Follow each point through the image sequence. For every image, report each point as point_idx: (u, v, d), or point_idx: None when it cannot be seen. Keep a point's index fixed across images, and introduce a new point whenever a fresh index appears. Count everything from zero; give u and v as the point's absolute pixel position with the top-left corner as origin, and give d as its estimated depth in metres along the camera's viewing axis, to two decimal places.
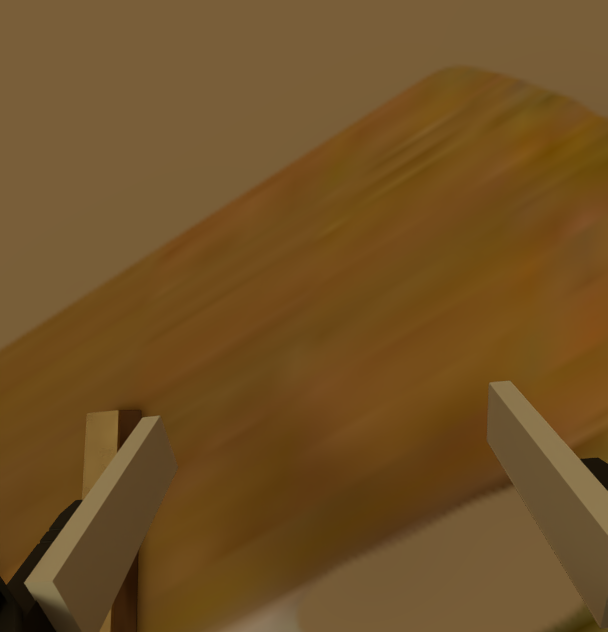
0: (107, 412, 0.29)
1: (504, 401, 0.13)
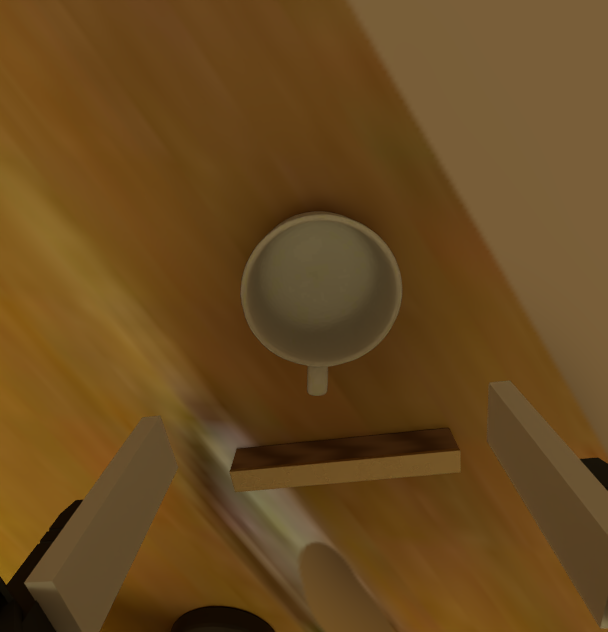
0: (459, 464, 0.35)
1: (504, 401, 0.13)
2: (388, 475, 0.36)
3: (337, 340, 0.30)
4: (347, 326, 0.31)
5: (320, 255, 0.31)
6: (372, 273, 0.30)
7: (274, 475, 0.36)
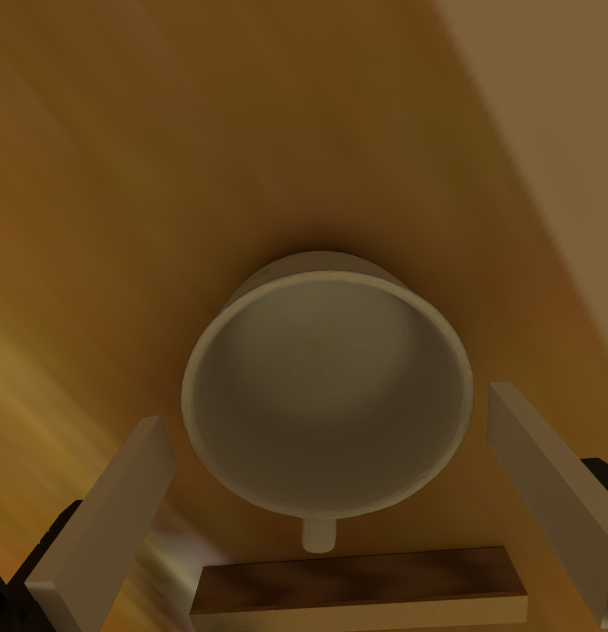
0: (525, 613, 0.24)
1: (504, 401, 0.13)
2: (420, 623, 0.25)
3: (351, 454, 0.18)
4: (365, 425, 0.20)
5: (324, 314, 0.20)
6: (405, 344, 0.19)
7: (254, 619, 0.25)
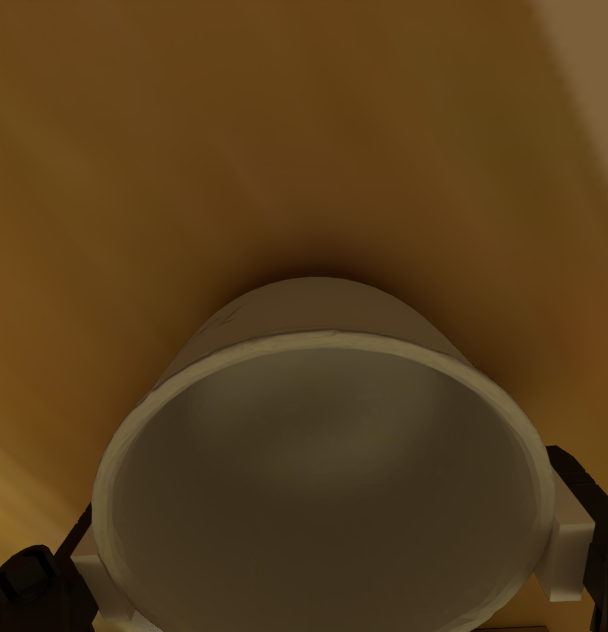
0: None
1: None
2: None
3: (358, 552, 0.13)
4: (377, 505, 0.15)
5: (321, 357, 0.15)
6: (431, 398, 0.14)
7: None
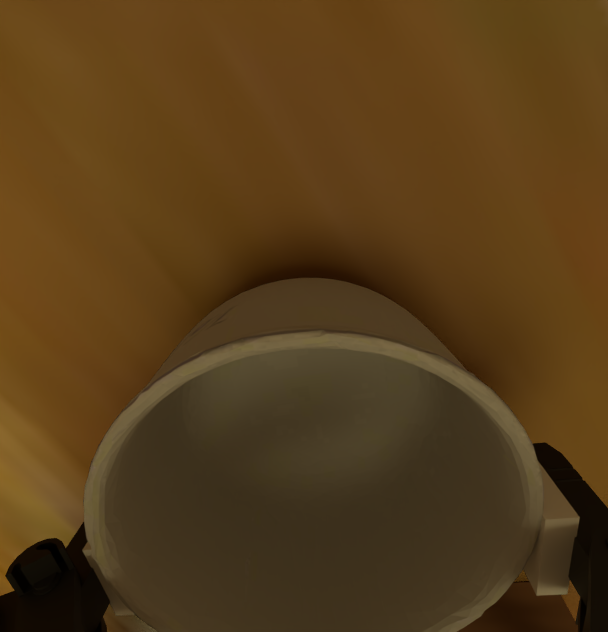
0: None
1: None
2: None
3: (352, 551, 0.13)
4: (371, 505, 0.15)
5: (315, 358, 0.15)
6: (424, 398, 0.14)
7: None
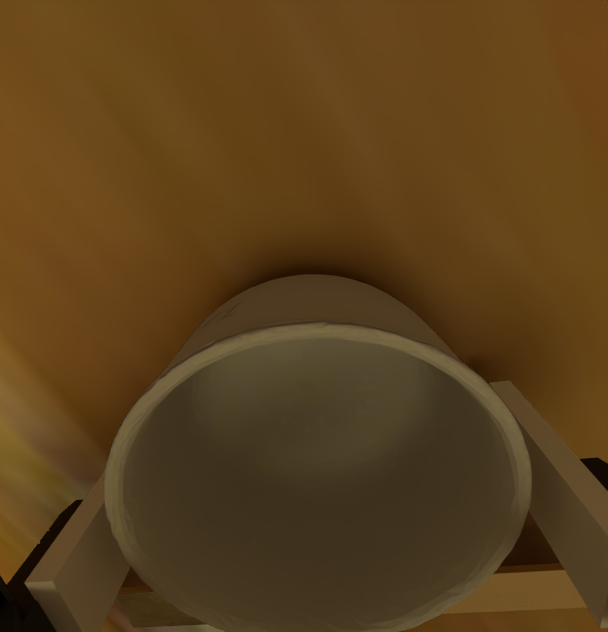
0: None
1: (504, 401, 0.13)
2: None
3: (353, 535, 0.14)
4: (372, 492, 0.15)
5: (318, 351, 0.15)
6: (423, 390, 0.15)
7: None
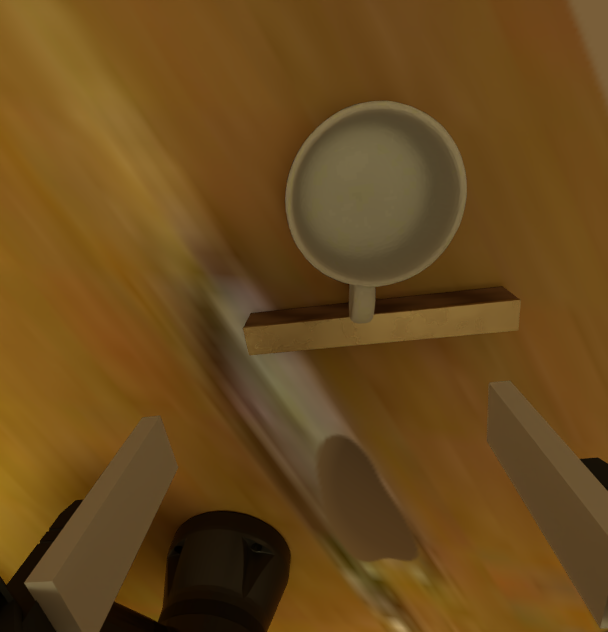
0: (517, 320, 0.29)
1: (504, 401, 0.13)
2: (430, 334, 0.30)
3: (384, 264, 0.27)
4: (393, 252, 0.28)
5: (366, 173, 0.28)
6: (423, 192, 0.28)
7: (295, 332, 0.31)
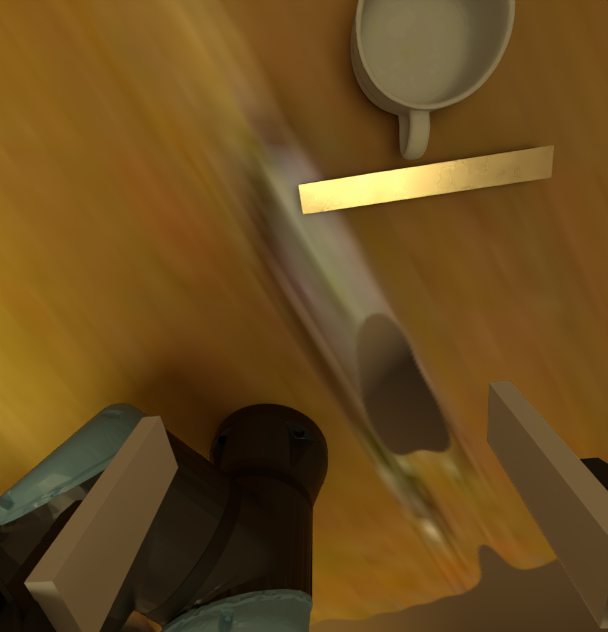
0: (551, 166, 0.32)
1: (504, 401, 0.13)
2: (471, 184, 0.33)
3: None
4: (439, 101, 0.31)
5: (413, 31, 0.31)
6: (465, 45, 0.31)
7: (347, 187, 0.34)
